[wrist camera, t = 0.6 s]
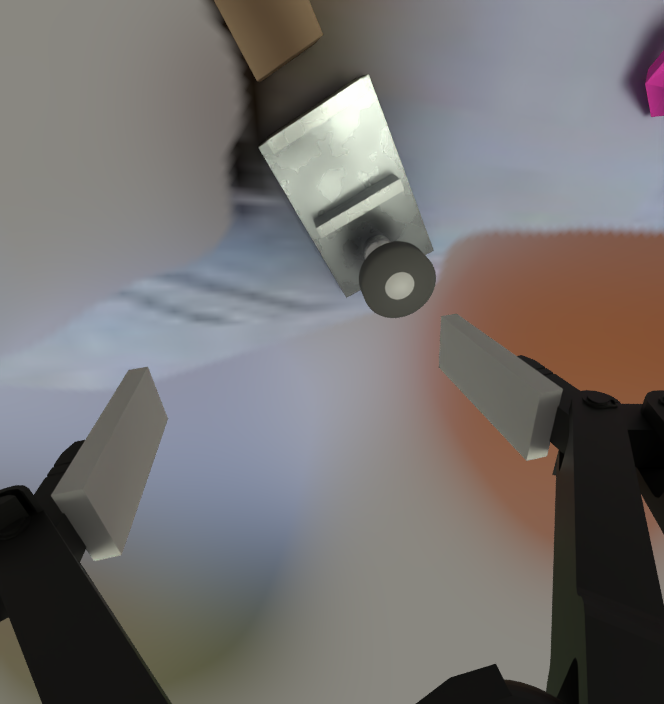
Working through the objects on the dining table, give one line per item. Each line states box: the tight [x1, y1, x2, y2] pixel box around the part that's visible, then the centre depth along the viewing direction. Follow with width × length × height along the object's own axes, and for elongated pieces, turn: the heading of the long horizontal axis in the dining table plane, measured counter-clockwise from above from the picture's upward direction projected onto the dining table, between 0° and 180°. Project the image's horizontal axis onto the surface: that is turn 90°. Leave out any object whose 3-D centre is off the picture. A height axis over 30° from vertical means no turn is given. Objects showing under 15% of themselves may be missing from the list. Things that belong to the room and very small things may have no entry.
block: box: [214, 0, 323, 82], centre depth 24 cm, size 5×5×6 cm
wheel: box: [359, 241, 436, 318], centre depth 31 cm, size 6×6×4 cm
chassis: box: [258, 75, 434, 298], centre depth 33 cm, size 10×16×4 cm, turn 28°
